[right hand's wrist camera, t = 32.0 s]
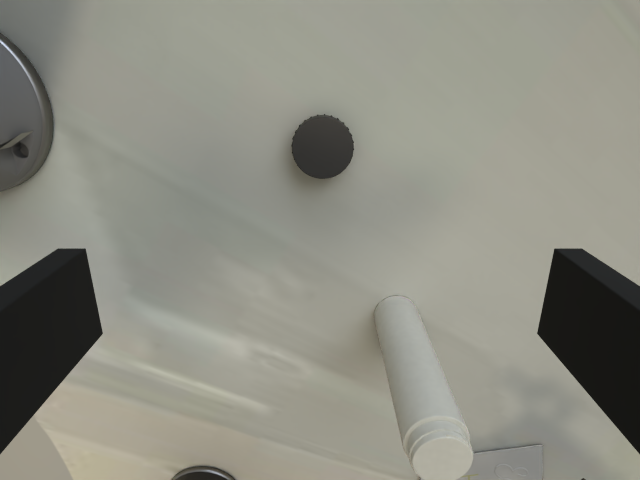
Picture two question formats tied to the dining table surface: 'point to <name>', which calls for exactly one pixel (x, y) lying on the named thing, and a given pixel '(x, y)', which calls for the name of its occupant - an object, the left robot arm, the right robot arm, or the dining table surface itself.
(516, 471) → the grey flat rectangular slab
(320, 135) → the lid
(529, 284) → the dining table surface
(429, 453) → the white cylindrical bottle
